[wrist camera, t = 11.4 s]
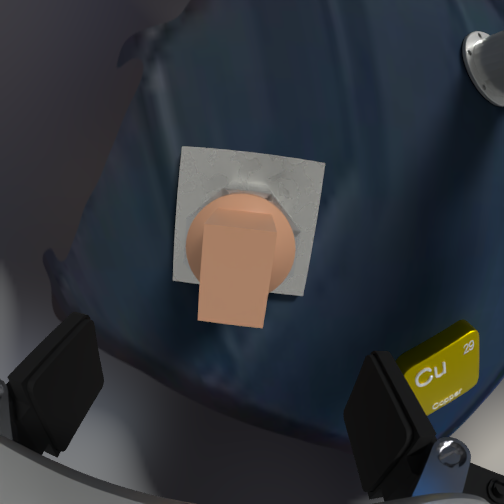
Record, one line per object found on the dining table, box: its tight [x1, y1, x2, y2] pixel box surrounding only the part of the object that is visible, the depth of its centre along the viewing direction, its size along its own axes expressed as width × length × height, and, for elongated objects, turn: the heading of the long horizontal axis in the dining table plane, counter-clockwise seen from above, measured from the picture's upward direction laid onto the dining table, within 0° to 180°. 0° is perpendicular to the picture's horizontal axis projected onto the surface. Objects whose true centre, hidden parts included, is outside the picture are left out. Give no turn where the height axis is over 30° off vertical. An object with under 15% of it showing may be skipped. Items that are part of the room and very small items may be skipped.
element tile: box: [396, 320, 479, 416], centre depth 40 cm, size 15×15×5 cm
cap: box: [186, 193, 296, 328], centre depth 22 cm, size 8×8×10 cm
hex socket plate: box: [173, 146, 325, 296], centre depth 30 cm, size 16×16×12 cm
